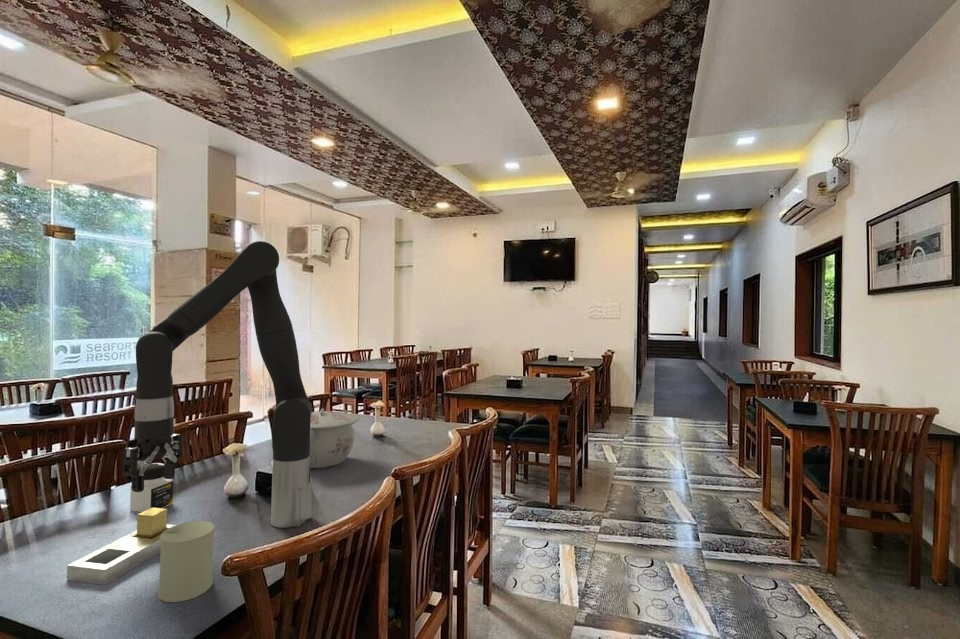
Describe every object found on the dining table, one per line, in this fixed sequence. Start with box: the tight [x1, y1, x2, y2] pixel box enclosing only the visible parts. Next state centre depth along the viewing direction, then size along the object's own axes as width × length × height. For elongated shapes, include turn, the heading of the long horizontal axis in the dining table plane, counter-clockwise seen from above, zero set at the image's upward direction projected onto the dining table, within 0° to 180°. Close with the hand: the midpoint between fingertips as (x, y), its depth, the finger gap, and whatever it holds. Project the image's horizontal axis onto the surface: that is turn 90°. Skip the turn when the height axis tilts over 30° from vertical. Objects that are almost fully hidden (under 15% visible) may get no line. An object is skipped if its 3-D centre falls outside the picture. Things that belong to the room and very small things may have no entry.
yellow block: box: [136, 508, 168, 539], centre depth 107 cm, size 4×4×8 cm
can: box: [157, 520, 215, 603], centre depth 90 cm, size 9×9×12 cm
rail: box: [66, 523, 177, 586], centre depth 101 cm, size 9×20×3 cm, turn 172°
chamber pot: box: [309, 408, 360, 469], centre depth 170 cm, size 28×28×21 cm
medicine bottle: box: [129, 462, 174, 513], centre depth 128 cm, size 7×7×12 cm
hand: (154, 484), depth 107 cm, fingers open, 8 cm apart
